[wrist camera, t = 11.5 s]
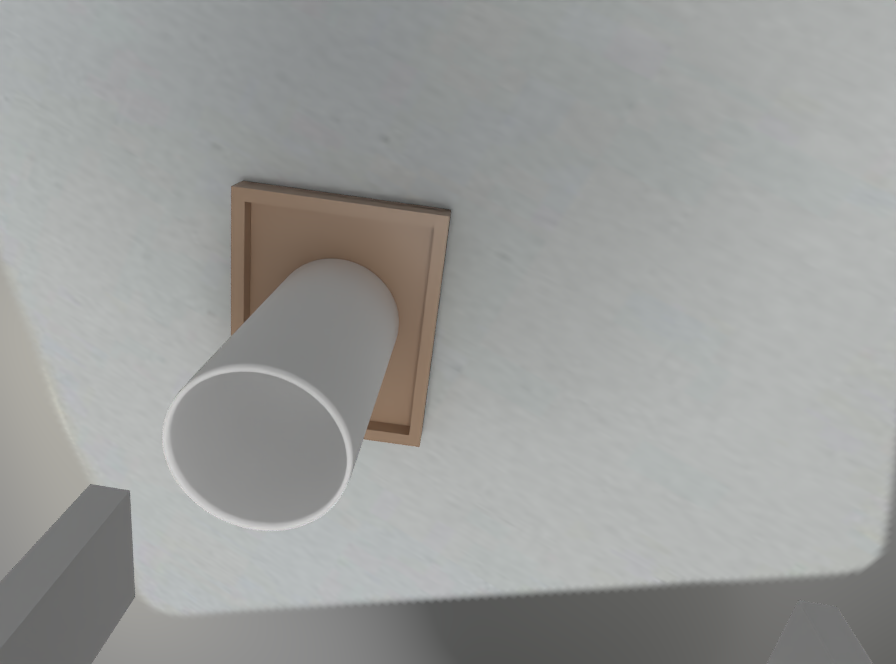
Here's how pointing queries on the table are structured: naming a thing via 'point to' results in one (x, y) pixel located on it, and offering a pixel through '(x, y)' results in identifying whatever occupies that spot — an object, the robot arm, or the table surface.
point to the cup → (285, 400)
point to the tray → (360, 241)
